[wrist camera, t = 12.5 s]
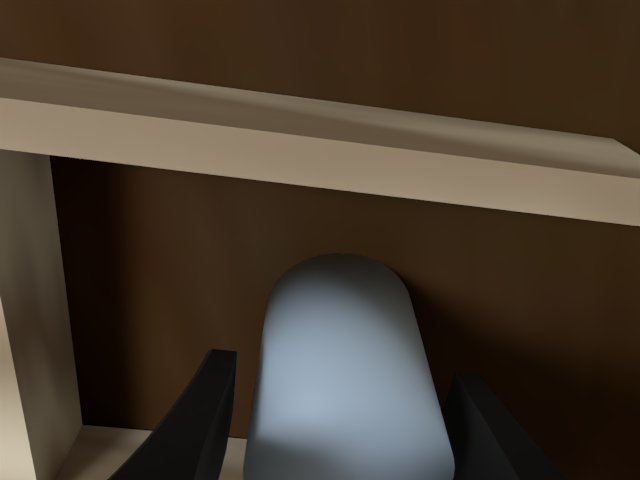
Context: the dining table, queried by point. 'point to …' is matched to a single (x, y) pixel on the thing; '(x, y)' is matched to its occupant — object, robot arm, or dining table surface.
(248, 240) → the dining table surface
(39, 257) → the frame
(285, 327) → the pale blue cylinder
